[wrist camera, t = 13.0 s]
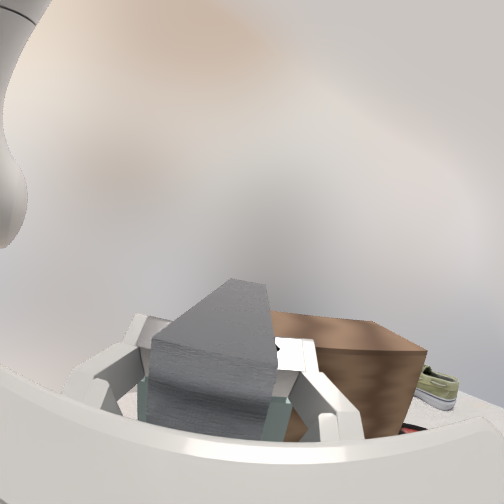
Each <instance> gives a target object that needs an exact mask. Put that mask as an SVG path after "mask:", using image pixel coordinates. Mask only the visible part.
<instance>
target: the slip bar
mask: <svg viewBox="0 0 504 504" xmlns="http://www.w3.org/2000/svg"><path fill="white" fill-rule="evenodd" d="M278 367H279V361H278V355H277V349H276V343H275V337H274V331H273V325H272V319H271V313H270V307H269V302H268V296H267V290H266V285H264V284H258V283H253V282H247V281H242V280H236V279H230V280H228V281H227V282H225V283H224V284H223V285H221V286H220V287H219V288H217V289H216V290H215V291H213V292H212V293H211V294H209V295H208V296H207V297H205V298H204V299H203V300H201V301H200V302H199V303H197V304H196V305H195V306H194V307H192V308H191V309H189V310H188V311H187V312H185V313H184V314H183V315H181V316H180V317H179V318H177V319H176V320H175V321H173V322H172V323H170V324H169V325H168V326H166V327H165V328H164V329H162V330H161V331H160V332H158V333H157V334H156V335H154V336H153V337H152V340H151V351H150V362H149V375H148V391H147V412H146V423H150V424H154V425H158V426H162V427H167V428H172V429H176V430H181V431H187V432H192V433H198V434H204V435H211V436H218V437H226V438H234V439H244V440H256V441H260V439H261V435H262V431H263V428H264V424H265V420H266V416H267V412H268V408H269V404H270V400H271V396H272V392H273V388H274V384H275V380H276V375H277V371H278Z"/></svg>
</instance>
